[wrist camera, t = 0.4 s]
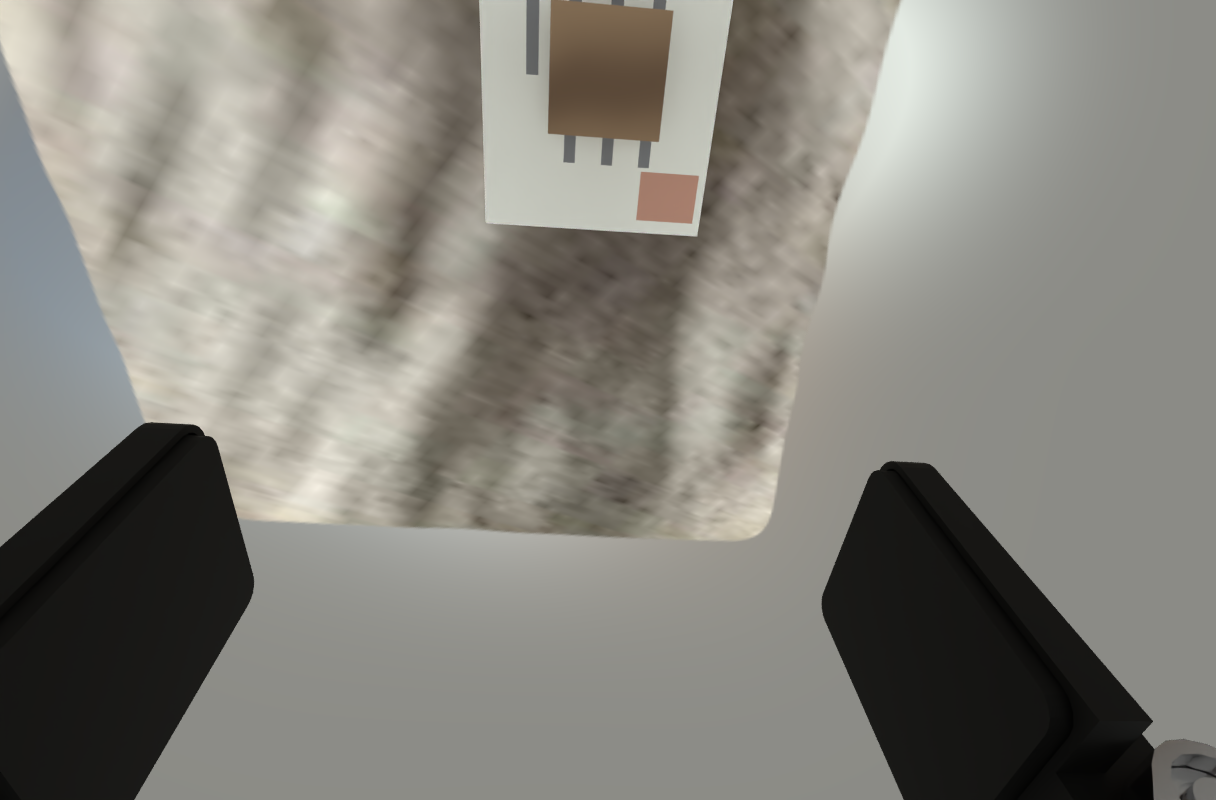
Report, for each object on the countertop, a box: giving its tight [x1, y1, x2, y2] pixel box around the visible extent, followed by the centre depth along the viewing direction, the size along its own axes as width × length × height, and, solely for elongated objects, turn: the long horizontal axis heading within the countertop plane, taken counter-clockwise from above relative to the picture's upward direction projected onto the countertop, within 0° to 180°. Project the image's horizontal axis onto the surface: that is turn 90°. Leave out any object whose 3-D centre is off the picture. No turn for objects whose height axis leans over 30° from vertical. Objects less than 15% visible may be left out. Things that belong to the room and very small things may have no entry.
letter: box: [479, 0, 733, 236], centre depth 30 cm, size 16×12×1 cm
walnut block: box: [548, 0, 674, 142], centre depth 28 cm, size 5×5×5 cm
